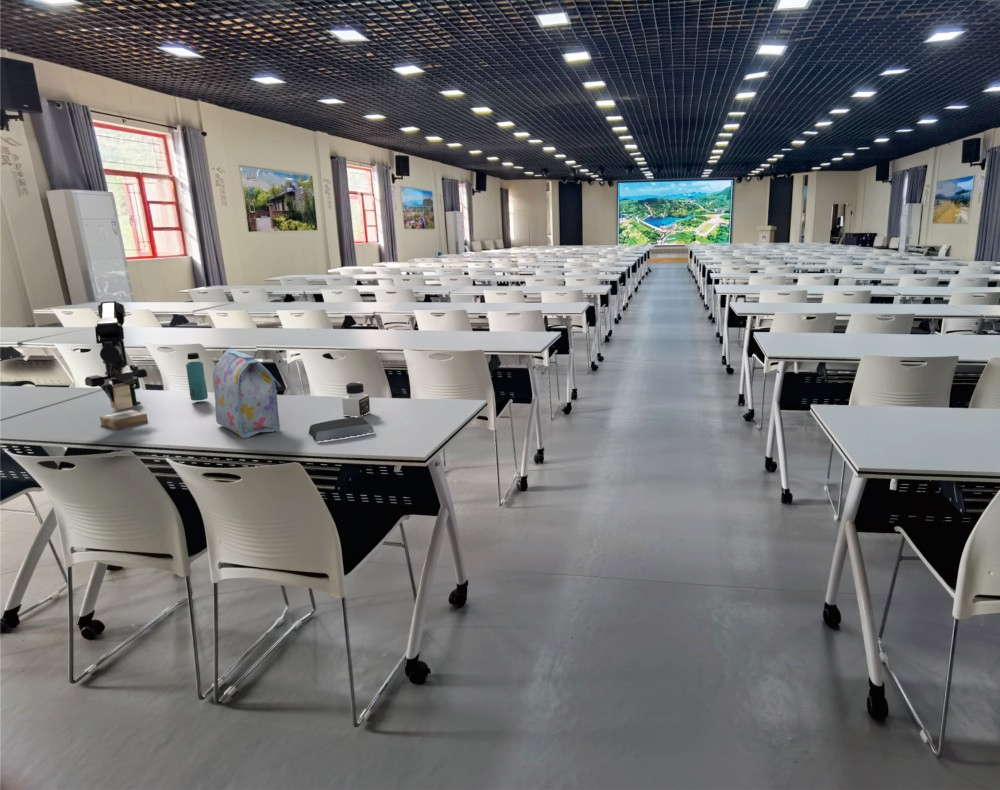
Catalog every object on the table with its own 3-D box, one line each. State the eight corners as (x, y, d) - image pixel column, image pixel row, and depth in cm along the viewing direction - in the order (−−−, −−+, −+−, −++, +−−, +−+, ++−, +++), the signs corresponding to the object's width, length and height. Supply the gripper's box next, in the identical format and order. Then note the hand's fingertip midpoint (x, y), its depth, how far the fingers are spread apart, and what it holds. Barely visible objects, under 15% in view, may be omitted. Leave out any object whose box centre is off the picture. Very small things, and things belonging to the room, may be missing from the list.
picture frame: (101, 424, 232) (99, 416, 232) (132, 417, 241) (131, 408, 240) (116, 429, 226) (114, 420, 225) (147, 421, 235) (146, 413, 234)
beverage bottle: (211, 400, 263) (205, 351, 258) (203, 404, 257) (196, 354, 252) (196, 400, 264) (189, 351, 259) (187, 404, 257) (180, 354, 252)
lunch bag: (289, 429, 223) (281, 353, 216) (241, 441, 211) (231, 361, 205) (260, 417, 238) (252, 345, 232) (213, 427, 227) (203, 352, 220)
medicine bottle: (360, 418, 234) (358, 386, 231) (343, 416, 236) (340, 384, 233) (370, 413, 241) (368, 381, 238) (353, 411, 243) (351, 380, 240)
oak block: (111, 407, 232) (107, 386, 230) (125, 404, 236) (122, 383, 234) (118, 409, 229) (114, 387, 227) (132, 406, 233) (129, 384, 231)
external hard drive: (375, 436, 216) (374, 424, 215) (316, 445, 207) (315, 433, 206) (364, 425, 227) (363, 414, 226) (308, 434, 218) (306, 423, 217)
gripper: (95, 364, 216) (103, 410, 220) (151, 355, 230) (158, 397, 234) (80, 361, 222) (88, 405, 226) (136, 352, 237) (142, 393, 241)
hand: (120, 400), depth 232 cm, fingers closed on oak block, 5 cm apart
